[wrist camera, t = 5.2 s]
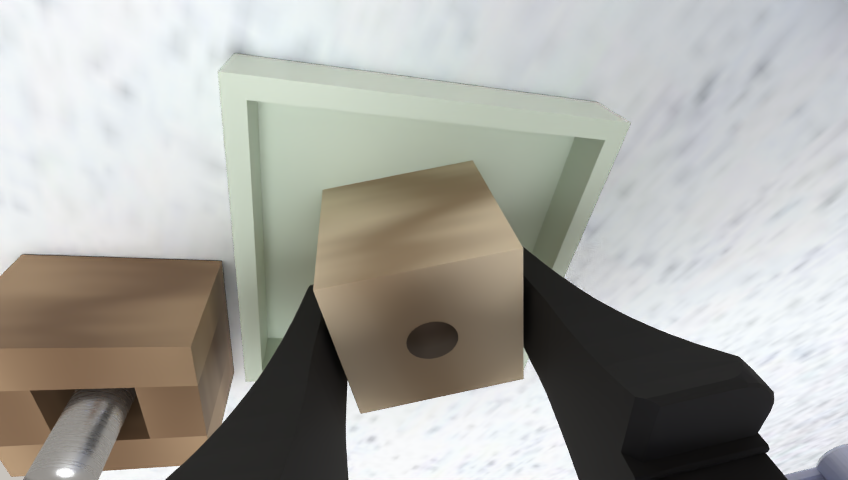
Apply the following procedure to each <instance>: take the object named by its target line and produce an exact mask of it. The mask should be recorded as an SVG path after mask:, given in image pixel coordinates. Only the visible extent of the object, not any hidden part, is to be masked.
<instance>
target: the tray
mask: <svg viewBox="0 0 848 480" xmlns="http://www.w3.org/2000/svg"><path fill="white" fill-rule="evenodd" d="M218 79H219V90H220V101H221V112H222V124H223V135H224V146H225V157H226V168H227V179H228V190H229V202H230V213H231V224H232V235H233V246H234V257H235V268H236V279H237V291H238V302H239V313H240V324H241V335H242V346H243V357H244V369H245V380H246V382H251V381H257V379H258V378H259V376H260V375H261V373H262V372H263V370H264V369H265V367H266V366H267V364H268V363H269V361H270V359H271V358H272V356H273V354H274V353H275V351H276V349H277V348H278V346H279V344H280V343H281V341H282V339H283V337H284V336H285V334H286V332H287V330H288V328H289V326H290V324H291V322H292V321H293V319H294V317H295V314H296V312H297V310H298V308H299V306H300V304H301V302H302V300H303V298H304V295H305V293H306V291H307V289H308V287H309V286H310V285H313V284H314V275H315V264H316V254H317V244H318V233H319V223H320V212H321V202H322V191H323V190H324V189H329V188H334V187H339V186H344V185H349V184H354V183H359V182H364V181H369V180H374V179H379V178H384V177H389V176H394V175H400V174H405V173H410V172H415V171H420V170H425V169H431V168H436V167H441V166H446V165H451V164H457V163H462V162H467V161H472V160H473V162H474V164H475V165H476V167H477V169H478V170H479V172H480V174H481V176H482V177H483V179H484V181H485V183H486V184H487V186H488V188H489V190H490V191H491V193H492V195H493V196H494V198H495V200H496V202H497V203H498V205H499V207H500V209H501V210H502V212H503V214H504V216H505V217H506V219H507V221H508V222H509V224H510V226H511V228H512V229H513V231H514V233H515V235H516V236H517V238H518V240H519V242H520V243H521V245H522V246H523V247H524V248H526V249H527V250H528V251H529V252H531V253H532V254H533V255H534V256H536V257H537V258H538V259H539V260H541V261H542V262H543V263H544V264H546V265H547V266H548V267H550V268H551V269H552V270H554V271H555V272H556V273H558V274H559V275H560V276H562V277H563V278H564V276H565V273H566V271H567V269H568V267H569V264H570V262H571V260H572V257H573V255H574V253H575V251H576V248H577V246H578V244H579V241H580V239H581V237H582V234H583V232H584V230H585V228H586V225H587V223H588V221H589V218H590V216H591V214H592V212H593V209H594V207H595V205H596V202H597V200H598V198H599V195H600V193H601V191H602V189H603V186H604V184H605V182H606V179H607V177H608V175H609V173H610V170H611V168H612V166H613V163H614V161H615V159H616V156H617V154H618V152H619V150H620V147H621V145H622V143H623V140H624V138H625V136H626V133H627V131H628V129H629V127H630V124H631V122H629V121H627V120H626V119H624V118H623V117H621V116H619V115H618V114H616V113H614V112H613V111H611V110H610V109H608V108H606V107H605V106H603V105H602V104H600V103H598V102H593V101H586V100H578V99H571V98H563V97H556V96H548V95H541V94H533V93H526V92H519V91H511V90H504V89H496V88H489V87H481V86H474V85H466V84H459V83H452V82H444V81H437V80H429V79H422V78H414V77H407V76H399V75H392V74H385V73H377V72H370V71H362V70H355V69H347V68H340V67H332V66H325V65H318V64H310V63H303V62H295V61H288V60H280V59H273V58H265V57H258V56H251V55H243V54H236V53H234V54H233V55H232V56H231V58H230V59H229V60H228V61H227V62H226V63H225V64H224V65H223V66H222V67H221V68H220V70H219V71H218ZM528 358H529V357H528V355H527V353H526V351H525V349H524V347H523V370H524V368H525V365H526V363H527V361H528Z"/></svg>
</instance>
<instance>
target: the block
mask: <svg viewBox="0 0 848 480" xmlns="http://www.w3.org/2000/svg"><path fill="white" fill-rule="evenodd" d="M313 292H314V294H315V297H316V299H317V302H318V304H319V307H320V310H321V312H322V315H323V317H324V320H325V323H326V325H327V328H328V330H329V333H330V336H331V338H332V341H333V343H334V346H335V348H336V351H337V354H338V356H339V359H340V361H341V364H342V367H343V369H344V372H345V374H346V377H347V380H348V382H349V385H350V387H351V390H352V393H353V395H354V398H355V400H356V403H357V405H358V408H359V411H360V413H361V414H362V413H366V412H371V411H376V410H380V409H385V408H390V407H394V406H399V405H404V404H408V403H413V402H418V401H422V400H427V399H432V398H436V397H441V396H446V395H450V394H455V393H460V392H464V391H469V390H474V389H478V388H483V387H488V386H492V385H497V384H502V383H506V382H511V381H516V380H520V379H523V247H522V245H521V243H520V242H519V240H518V238H517V236H516V235H515V233H514V231H513V229H512V228H511V226H510V224H509V222H508V221H507V219H506V217H505V216H504V214H503V212H502V210H501V209H500V207H499V205H498V203H497V202H496V200H495V198H494V196H493V195H492V193H491V191H490V190H489V188H488V186H487V184H486V183H485V181H484V179H483V177H482V176H481V174H480V172H479V170H478V169H477V167H476V165H475V164H474V162H473V160H472V161H467V162H462V163H457V164H451V165H446V166H441V167H436V168H431V169H425V170H420V171H415V172H410V173H405V174H400V175H394V176H389V177H384V178H379V179H374V180H369V181H364V182H359V183H354V184H349V185H344V186H339V187H334V188H329V189H324V190H323V191H322V202H321V212H320V223H319V233H318V244H317V254H316V264H315V275H314V285H313Z"/></svg>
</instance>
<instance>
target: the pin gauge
mask: <svg viewBox="0 0 848 480" xmlns="http://www.w3.org/2000/svg"><path fill="white" fill-rule="evenodd" d="M135 396H136V391H135V388H102V389H76V390H75V392H74V393H73V395H72V397H71V398H70V400H69V402H68V403H67V405H66V407H65V409H64V410H63V412H62V414H61V415H60V417H59V419H58V421H57V422H56V424H55V426H54V427H53V429H52V431H51V433H50V434H49V436H48V438H47V439H46V441H45V443H44V445H43V446H42V448H41V450H40V451H39V453H38V455H37V457H36V458H35V460H34V462H33V463H32V465H31V467H30V468H29V470H28V472H27V474H26V475H25V477H24V479H23V480H98V479H99V477H100V475H101V472H102V470H103V468H104V466H105V463H106V461H107V459H108V457H109V454H110V452H111V450H112V448H113V445H114V443H115V441H116V439H117V436H118V434H119V432H120V430H121V427H122V425H123V423H124V421H125V418H126V416H127V414H128V412H129V410H130V407H131V405H132V403H133V401H134V398H135Z"/></svg>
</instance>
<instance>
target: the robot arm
mask: <svg viewBox="0 0 848 480" xmlns="http://www.w3.org/2000/svg"><path fill="white" fill-rule="evenodd" d="M522 247H523V246H522ZM313 285H314V284H313ZM313 285H310V286H309V287H308V289H307V291H306V293H305V295H304V298H303V300H302V302H301V304H300V306H299V308H298V310H297V312H296V314H295V317H294V319H293V321H292V322H291V324H290V326H289V328H288V330H287V332H286V334H285V336H284V337H283V339H282V341H281V343H280V344H279V346H278V348H277V349H276V351H275V353H274V354H273V356H272V358H271V359H270V361H269V363H268V364H267V366H266V367H265V369H264V370H263V372H262V373H261V375H260V376H259V378H258V379H257V381H256V382H255V383H254V385H253V386H252V387H251V389H250V390H249V391H248V393H247V394H246V395H245V397H244V398H243V399H242V400H241V402H240V403H239V404H238V405H237V407H236V408H235V409H234V410H233V411H232V413H231V414H230V415H229V416H228V417H227V419H226V420H225V421H224V422H223V423H222V424H221V426H220V427H219V428H218V429H217V430H216V431H215V432H214V433H213V434H212V435H211V436H210V437H209V438H208V439H207V440H206V441H205V442H204V443H203V445H202V446H201V447H200V448H199V449H198V450H197V451H196V452H195V453H194V454H193V455H192V456H190V457H189V458H188V459H187V460H186V461H185V462H184V463H183V464H182V465H181V466H180V467H179V468H178V469H177V470H175V471H174V472H173V473H172V474H171V475H170V476H169V477H168V478H167V479H166V480H348V467H347V451H346V401H347V377H346V374H345V372H344V369H343V367H342V364H341V361H340V359H339V356H338V354H337V351H336V348H335V346H334V343H333V341H332V338H331V336H330V333H329V330H328V328H327V325H326V323H325V320H324V317H323V315H322V312H321V310H320V307H319V304H318V302H317V299H316V297H315V294H314V292H313ZM523 347H524V349H525V351H526V353H527V355H528V357H529V359H530V361H531V363H532V365H533V367H534V369H535V370H536V372H537V374H538V376H539V378H540V380H541V382H542V385H543V387H544V389H545V391H546V393H547V396H548V398H549V401H550V403H551V406H552V409H553V411H554V414H555V416H556V419H557V421H558V424H559V427H560V429H561V432H562V435H563V437H564V440H565V442H566V445H567V448H568V450H569V453H570V456H571V459H572V462H573V464H574V467H575V470H576V473H577V476H578V479H579V480H848V444H845V445H841V446H838V447H835V448H833V449H831V450H829V451H828V452H826V453H825V454H824V455H823V456H822V457H821V458H820V459H819V461H818V463H817V466H816V467H815V468H811V469H807V470H803V471H798V472H794V473H790V474H786V475H783V473H782V472H781V471H780V470H779V469H778V467H777V466H776V465H775V464H774V463H773V461H772V460H771V459H770V458H769V457H768V455H767V454H766V452H768V451H769V446H768V444H767V443H766V442H765V441H764V439H763V438H762V437H761V436H760V435H759V434H758V431H759V430H760V428H761V426H762V425H763V423H764V421H765V420H766V418H767V416H768V415H769V413H770V411H771V409H772V406H773V404H774V392H773V391H772V390H771V389H770V387H769V386H768V385H767V384H766V383H765V382H764V381H763V380H762V379H761V378H760V377H759V376H758V375H757V374H756V372H755V371H754V370H753V369H752V368H751V367H750V366H748V365H747V364H746V363H745V362H744V361H743V360H742V359H741V358H740V357H738V356H735V355H732V354H728V353H725V352H722V351H718V350H715V349H712V348H708V347H705V346H702V345H699V344H696V343H693V342H690V341H687V340H684V339H682V338H679V337H676V336H673V335H671V334H668V333H666V332H663V331H661V330H658V329H656V328H653V327H651V326H649V325H646V324H644V323H642V322H640V321H637V320H635V319H633V318H631V317H629V316H627V315H625V314H623V313H621V312H619V311H617V310H615V309H613V308H611V307H609V306H608V305H606V304H604V303H602V302H600V301H598V300H597V299H595V298H593V297H592V296H590V295H588V294H587V293H585V292H584V291H582V290H581V289H579V288H578V287H576V286H575V285H573V284H572V283H570V282H569V281H567V280H566V279H565V278H563V277H562V276H560V275H559V274H558V273H556V272H555V271H554V270H552V269H551V268H550V267H548V266H547V265H546V264H544V263H543V262H542V261H541V260H539V259H538V258H537V257H536V256H534V255H533V254H532V253H531V252H529V251H528V250H527V249H526V248H524V247H523Z"/></svg>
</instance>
